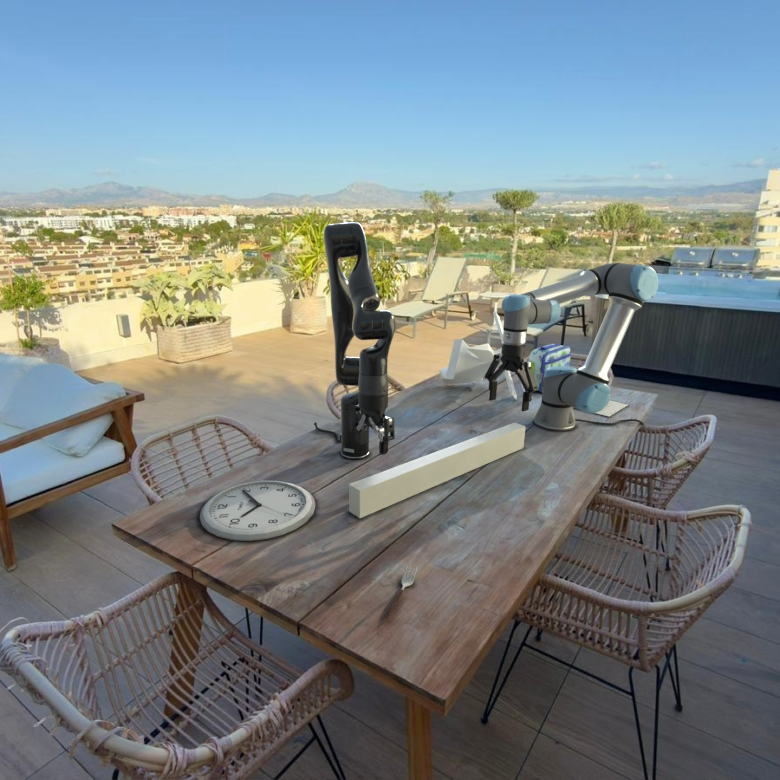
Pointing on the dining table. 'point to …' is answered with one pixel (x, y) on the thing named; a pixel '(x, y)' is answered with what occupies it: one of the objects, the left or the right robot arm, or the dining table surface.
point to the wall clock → (257, 510)
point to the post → (432, 469)
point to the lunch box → (548, 360)
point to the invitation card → (611, 408)
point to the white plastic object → (473, 362)
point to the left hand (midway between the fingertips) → (372, 448)
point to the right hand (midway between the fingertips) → (508, 405)
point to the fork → (405, 582)
